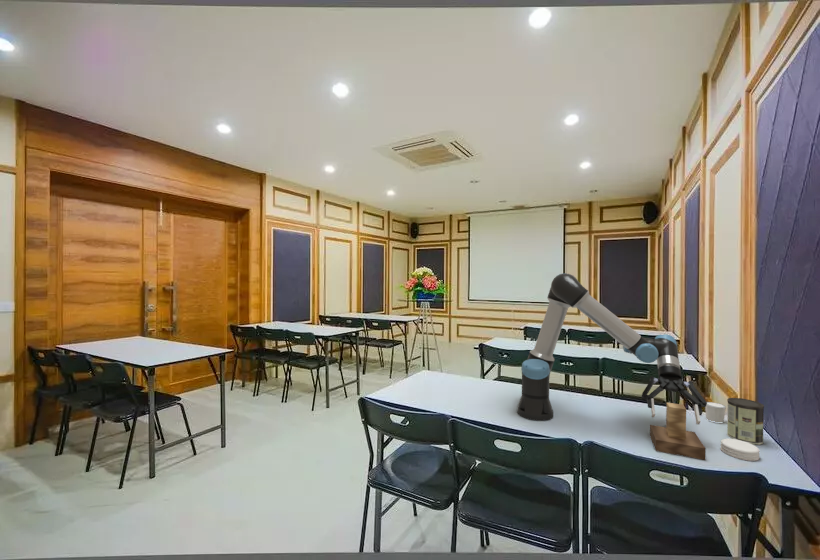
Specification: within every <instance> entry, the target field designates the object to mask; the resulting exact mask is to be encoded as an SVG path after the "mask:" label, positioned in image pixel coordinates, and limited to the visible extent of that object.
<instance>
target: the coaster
mask: <svg viewBox="0 0 820 560" xmlns="http://www.w3.org/2000/svg"><path fill="white" fill-rule="evenodd" d="M720 449H721V451H722V453H724V454H726V455H727V456H729V457H733V458H735V459H738V460H743V461H747V462H748V461H749V462H757V461H758V460H760V452H761V451H760V448H759V447H757V445H754V444H750V443H747V442H744V441H741V440H736V439H732V438H723V439H721V441H720Z"/></svg>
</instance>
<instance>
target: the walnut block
mask: <svg viewBox="0 0 820 560" xmlns="http://www.w3.org/2000/svg"><path fill="white" fill-rule="evenodd" d="M649 436H651V437H650V440H651V442H652V444H653V447H654V450H655V452H660V453H666V454H672V455H676V456H677V455H678V456H681V455H683V456H682V457H686V458H687V457H688V458H691V459H692V458H693V459H699V460H702V461H703V460H705V461H706V450H707V449H706V446H705V445H704V444H703V442H702V441H701V439H700V437H699V436H698V434H697V433H696V431H692V430H691V431H690V430H686V440H683V439H677V438H671V437H668V435H667V433H666V426H661V425H660V426H658V425H655V424H654V425H653V424H650V425H649Z"/></svg>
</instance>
